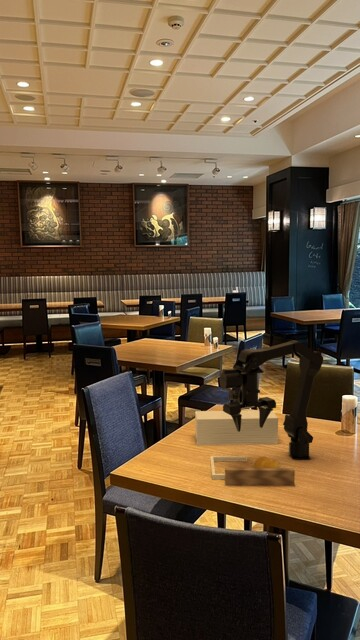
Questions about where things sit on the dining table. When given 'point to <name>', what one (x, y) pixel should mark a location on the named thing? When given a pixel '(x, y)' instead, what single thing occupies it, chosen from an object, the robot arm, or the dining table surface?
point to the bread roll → (265, 463)
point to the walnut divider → (260, 476)
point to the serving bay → (223, 458)
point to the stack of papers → (234, 428)
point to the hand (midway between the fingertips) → (249, 429)
